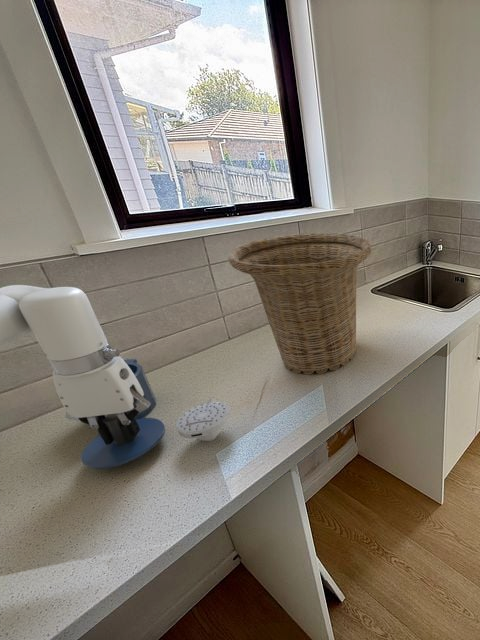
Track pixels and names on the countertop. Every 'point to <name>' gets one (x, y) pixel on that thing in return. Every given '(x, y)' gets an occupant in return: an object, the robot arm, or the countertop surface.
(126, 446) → the lid
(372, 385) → the countertop surface
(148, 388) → the pot
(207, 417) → the showerhead
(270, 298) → the wicker basket
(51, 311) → the robot arm
